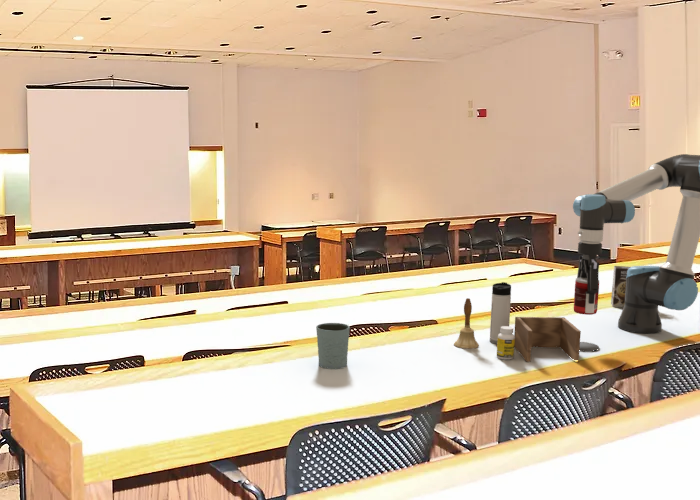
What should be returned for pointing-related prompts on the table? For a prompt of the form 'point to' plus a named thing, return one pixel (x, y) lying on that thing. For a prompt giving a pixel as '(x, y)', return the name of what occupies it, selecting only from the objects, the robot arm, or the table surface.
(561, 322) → the walnut u-shaped bracket
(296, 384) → the table surface
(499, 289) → the travel mug
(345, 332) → the grey-green cup
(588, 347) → the slate coaster
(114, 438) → the table surface
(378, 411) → the table surface
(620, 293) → the coffee box
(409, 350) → the table surface
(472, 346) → the hand bell
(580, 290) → the canned food
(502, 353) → the supplement bottle
